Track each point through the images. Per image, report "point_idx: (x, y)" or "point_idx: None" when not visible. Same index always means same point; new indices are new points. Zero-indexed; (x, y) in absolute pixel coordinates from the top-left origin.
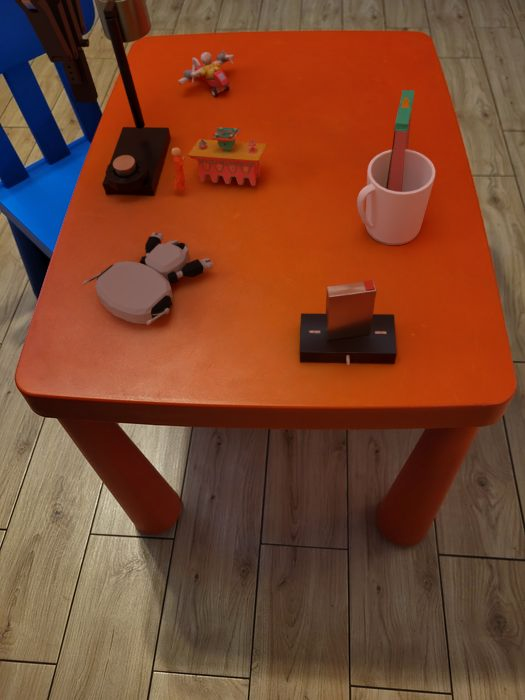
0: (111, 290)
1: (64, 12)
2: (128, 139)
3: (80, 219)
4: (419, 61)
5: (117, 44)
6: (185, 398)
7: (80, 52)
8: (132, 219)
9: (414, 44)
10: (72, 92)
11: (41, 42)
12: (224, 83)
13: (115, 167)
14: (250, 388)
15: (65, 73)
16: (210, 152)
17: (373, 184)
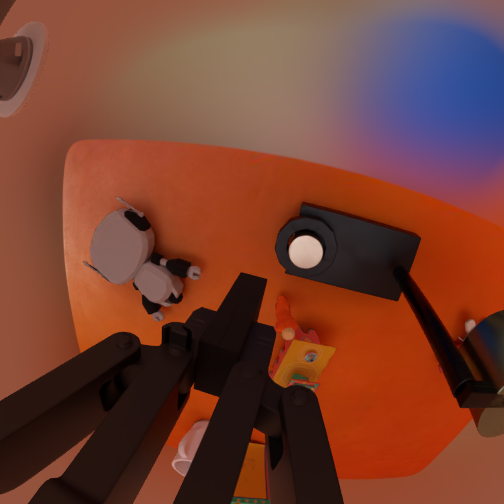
0: (106, 231)
1: (138, 491)
2: (391, 245)
3: (259, 166)
4: (391, 473)
5: (437, 355)
6: (67, 272)
7: (213, 392)
8: (248, 236)
9: (412, 472)
10: (233, 284)
11: (56, 371)
12: (440, 369)
13: (296, 239)
14: (78, 313)
15: (218, 309)
16: (293, 362)
17: (182, 458)
